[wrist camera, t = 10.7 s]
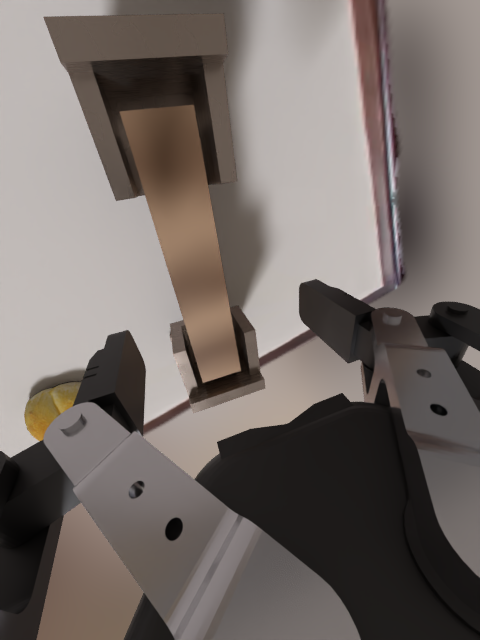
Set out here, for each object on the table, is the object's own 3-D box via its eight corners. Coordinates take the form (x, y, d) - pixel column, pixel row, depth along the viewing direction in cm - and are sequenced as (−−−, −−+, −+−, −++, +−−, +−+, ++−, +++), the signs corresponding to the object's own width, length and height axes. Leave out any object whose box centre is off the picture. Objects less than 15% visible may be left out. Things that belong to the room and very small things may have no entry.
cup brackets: (81, 90, 17) (-4, -23, 8) (201, 81, 19) (243, -20, 10) (176, 352, 30) (185, 423, 21) (241, 333, 32) (275, 391, 23)
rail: (128, 131, 14) (119, 111, 11) (184, 125, 15) (193, 104, 11) (195, 352, 24) (203, 382, 20) (228, 342, 25) (241, 370, 21)
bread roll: (124, 413, 33) (120, 438, 29) (53, 434, 31) (41, 464, 28) (100, 369, 28) (93, 393, 25) (16, 391, 27) (-4, 420, 23)
